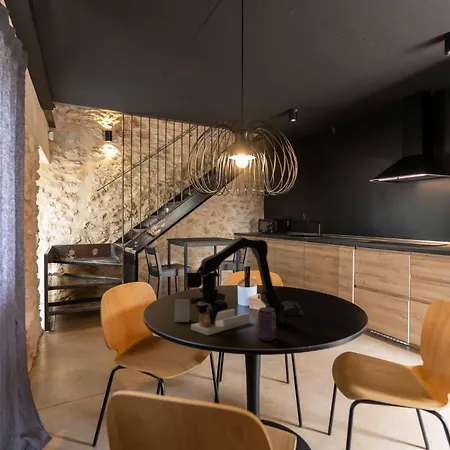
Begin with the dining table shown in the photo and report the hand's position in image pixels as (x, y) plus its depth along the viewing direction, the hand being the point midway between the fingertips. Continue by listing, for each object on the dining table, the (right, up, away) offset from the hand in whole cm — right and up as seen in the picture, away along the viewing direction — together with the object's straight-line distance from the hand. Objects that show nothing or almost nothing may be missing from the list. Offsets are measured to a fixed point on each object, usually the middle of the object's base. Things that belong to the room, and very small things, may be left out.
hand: (208, 322), depth 150 cm
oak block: (-1, -1, -1) cm, 1 cm away
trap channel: (+5, -3, +5) cm, 8 cm away
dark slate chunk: (+41, -4, +33) cm, 53 cm away
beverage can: (+24, -3, -12) cm, 27 cm away
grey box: (-13, -3, +13) cm, 19 cm away
